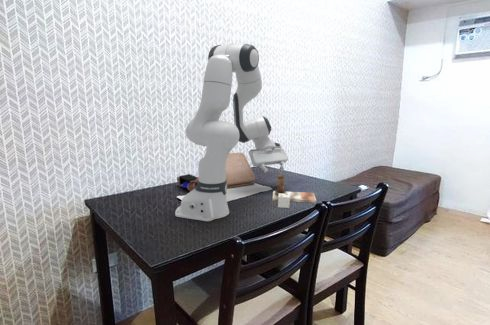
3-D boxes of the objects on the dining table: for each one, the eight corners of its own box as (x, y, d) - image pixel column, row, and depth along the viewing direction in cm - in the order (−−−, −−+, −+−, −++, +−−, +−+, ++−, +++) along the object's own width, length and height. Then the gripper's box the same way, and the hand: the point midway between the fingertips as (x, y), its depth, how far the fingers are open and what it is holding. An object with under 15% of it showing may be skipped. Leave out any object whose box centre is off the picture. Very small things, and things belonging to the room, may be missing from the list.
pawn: (274, 195, 143) (275, 175, 141) (275, 192, 148) (275, 172, 146) (285, 196, 143) (286, 175, 141) (285, 192, 148) (286, 173, 146)
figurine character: (176, 189, 161) (189, 193, 148) (175, 175, 160) (187, 178, 147) (187, 186, 165) (201, 191, 152) (186, 173, 164) (199, 176, 151)
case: (223, 190, 156) (223, 160, 152) (208, 179, 174) (208, 153, 170) (256, 184, 166) (257, 156, 162) (239, 175, 184) (239, 150, 180)
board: (272, 200, 141) (272, 197, 141) (273, 193, 152) (273, 190, 151) (316, 202, 139) (316, 199, 138) (313, 195, 149) (313, 192, 149)
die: (278, 207, 133) (278, 196, 131) (278, 203, 137) (278, 193, 136) (289, 208, 132) (289, 197, 131) (289, 204, 137) (289, 193, 136)
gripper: (249, 146, 147) (259, 169, 141) (283, 143, 156) (294, 165, 150) (245, 153, 152) (254, 176, 145) (278, 150, 161) (288, 172, 155)
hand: (274, 171), depth 148 cm, fingers open, 8 cm apart
